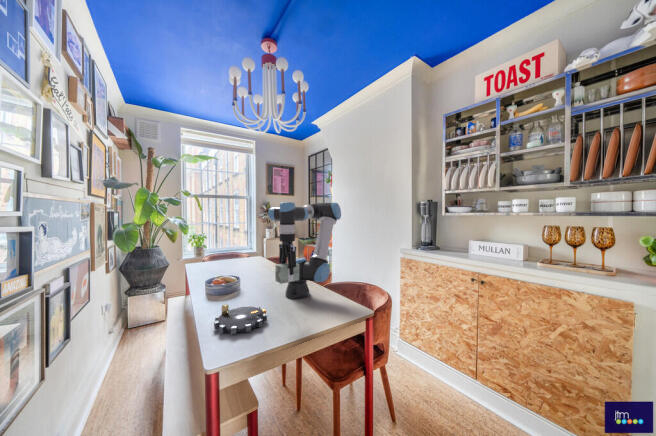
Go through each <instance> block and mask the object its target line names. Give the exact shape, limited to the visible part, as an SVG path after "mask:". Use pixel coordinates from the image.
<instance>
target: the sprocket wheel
mask: <svg viewBox="0 0 656 436" xmlns="http://www.w3.org/2000/svg"><path fill="white" fill-rule="evenodd" d="M229 307H230V306H229V304H227V303H226V304H223V305H221V314H220V315H216V316H215V317H214V318H215V319H214V321H213V328H214V330H218V333H221V334H224V333H228V334H229V333H230V334H231V335H237V333H242V332H243V333H244V332H245V333H248V332H251V331H252V330H253V329H255V328H260V327H262V326H263V322H267V319H268V313H267V310H266V308H263V309H261V307H260V306H251V305H245V306H241V307H238V306H236V307H233V308H232V309H229Z"/></svg>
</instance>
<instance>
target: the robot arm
mask: <svg viewBox="0 0 656 436" xmlns="http://www.w3.org/2000/svg"><path fill="white" fill-rule="evenodd" d="M267 213H268V214H267V216H268V218H269V220H270V221H276V222H278V221H279V233H280V234H279V241H280V242H281V244H278V247H279V249H278V250H279V254H278V255H279V256H278V257H279V258H278V259H279V260H278V263H279V264H284V263H288V266H289V267H288V282H287V287H286V289H285V297H286V298H287V299H291V300H302V299H305V298H308V297H309V296H310V288H309V286H308V283H307V281H309V282H315V283H324V282H325V281H326V280H327V279H328V278H329V275H330V272H331V269H330V268H331V265H330V263H329V261H328V259H327V257H328V252H329V248H330V244H331V238H332V233H333V229H334V225H336V224H337V221H339V220H341V218H342V210H341V207H340V204H339V203H338V202H317V203H316V202H315V203H311V204H310V203H309V204H305V205H303V206H302V205H300V206H298V205H297V206H296V203H295V202H291V201H282V202H280V204H279V206H275V207H270V208H269V209H268V212H267ZM307 219H313V220H319V222H320V225H319V229H318V234H317V236H316V242H315V246H314V249H313V255H312V256H310V257H309V261H307V258H306V257H299V258H297V252H296V251H297V246H295V245H294V243H293V242H295V241H296V234H295V233H296V222H303V221H304V222H305V221H306V220H307ZM296 263H297V264H299V280H297V281H293V268H294V267H296ZM291 281H292V282H291Z"/></svg>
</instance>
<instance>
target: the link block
mask: <svg viewBox="0 0 656 436" xmlns="http://www.w3.org/2000/svg"><path fill="white" fill-rule="evenodd" d="M288 267H289V266H288V262H286V263H284V264H281V263H279V264H278V263H277V264H275V267H274V268H275V270H274V271H275V276H274V277H275V278H274V279H275V282H277V283H279V284H281V285H282V284H288ZM297 280H299V264H297V263H296V267H294V268H293V281H297ZM291 282H292V281H291Z"/></svg>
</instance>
